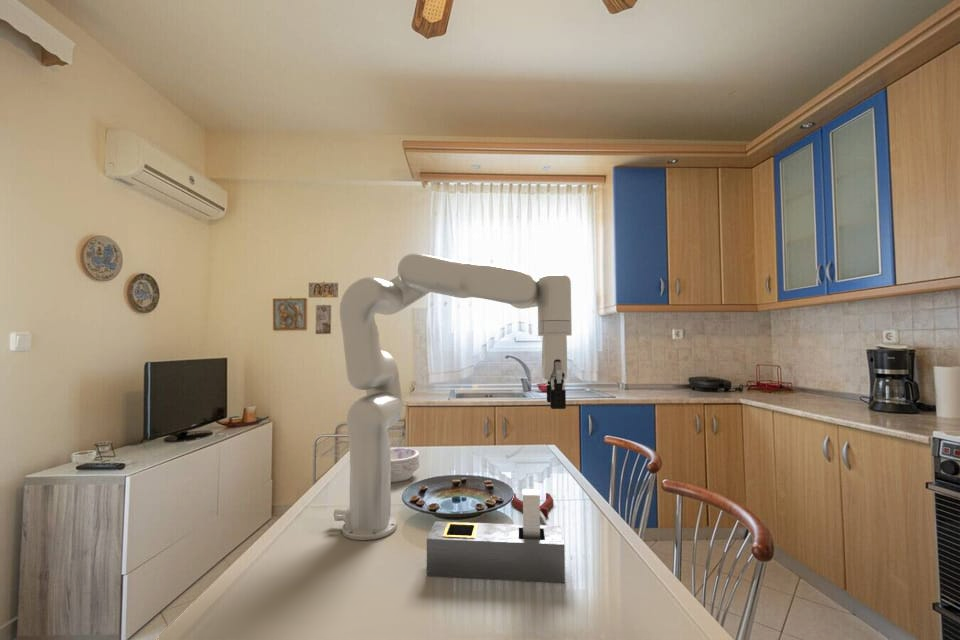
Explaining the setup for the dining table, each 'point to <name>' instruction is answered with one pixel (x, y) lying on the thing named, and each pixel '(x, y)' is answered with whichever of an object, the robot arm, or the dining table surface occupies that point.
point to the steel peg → (531, 514)
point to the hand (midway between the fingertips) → (555, 405)
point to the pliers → (543, 507)
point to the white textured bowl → (403, 463)
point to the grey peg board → (495, 552)
